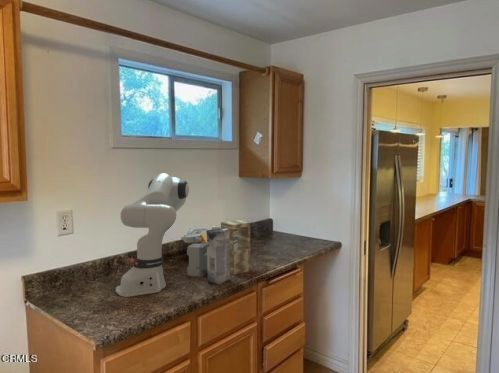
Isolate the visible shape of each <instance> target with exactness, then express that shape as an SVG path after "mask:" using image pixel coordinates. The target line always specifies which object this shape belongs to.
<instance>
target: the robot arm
mask: <svg viewBox="0 0 499 373" xmlns="http://www.w3.org/2000/svg"><path fill="white" fill-rule="evenodd" d="M189 193H190V185H189V183H188V181H186V180H185V179H180V178H179V177H176V176H171V175H169V174H168V173H162V172H161V173H158V174H157V176H155V177H154V178H153V179H151V180H149V183H148V187H147V190H146V192H145V194H144V195H143V196H142V197H140V198H139V199H137V200H136V201H134V202H132V203H131V204H128V205H125V206H123V208H122V210H121V212H120V221H121V223H122V224H123V225H124V226H126V227H130V228H133V229H134V228H135V229H141V228H142V229H145V228H146V229H148V233H146V234H145V235H143V236H141V237H140V238H138V240H137V243H136V252H137V253H136V256H137V257H136V258H135V259H134V258H133V257H132V258H130V259H129V263H130V264H133V266H132V267H131V268H130V269H128V270H127V272H125V273H124V274H123V275H122V276H121V279H120V285H117V286H116V287H115V293H116V294H117V295H119V296H120V297H124V298H129V297H136V296H142V295H143V296H144V295H150V294H155V293H159V292H161V291H162V290H163V289H164V288H165V287H166V286H167V283H166V281H165V276H164V270H163V269H164V258H163V257H164V256H163V255H162V254H163V252H162V249H163V248H162V247H163V238H164V235H166V234H165V232H166V231H167V230H168V229H169V228H170V227H171V226H172V225H173V224H174V223H175V221H176V217H177V212H178V211H179V209H181V208H182V207H183V206H184V205H185V203H186V201H187V198H188V195H189ZM207 230H209V229H208V228H198V227H194V228H190V229H189V231H188V233H187V235H184V236H183V237H181V236H180V240H183V242H184V243H186V244H190V243H191V244H198V243H199V242H200V243H201V241H203V238H200V234H204V233H206V231H207Z"/></svg>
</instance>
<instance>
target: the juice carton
mask: <svg viewBox="0 0 499 373" xmlns="http://www.w3.org/2000/svg"><path fill="white" fill-rule="evenodd" d="M206 233H207V273H206V275H207V282H208V283H211V284H214V285H221V284H223V283H225V282H227V281H230V277H231V275H230V247H229V233H230V229H227V228H221V227H218V225H214V226H211V228H210V229H208V230H207V231H206Z"/></svg>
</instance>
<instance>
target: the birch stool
mask: <svg viewBox="0 0 499 373" xmlns="http://www.w3.org/2000/svg"><path fill="white" fill-rule="evenodd" d="M220 228H227V229H230V233H229V247H230V276H234V275H238V274H243V273H247V272H251V270H252V269H251V262H252V261H251V259H252V258H251V222H250V221H245V220H241V219H238V220H237V219H236V220H228V221H221V222H220ZM234 228H237V231H238V250H237V251H234Z"/></svg>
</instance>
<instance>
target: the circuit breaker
mask: <svg viewBox="0 0 499 373" xmlns="http://www.w3.org/2000/svg"><path fill="white" fill-rule="evenodd" d="M186 255H187V256H188V266H187V270H186V271H187V276H189V277H204V276H205V275H207V244H202V243H191V244H190V245H188V246H187V249H186Z"/></svg>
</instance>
